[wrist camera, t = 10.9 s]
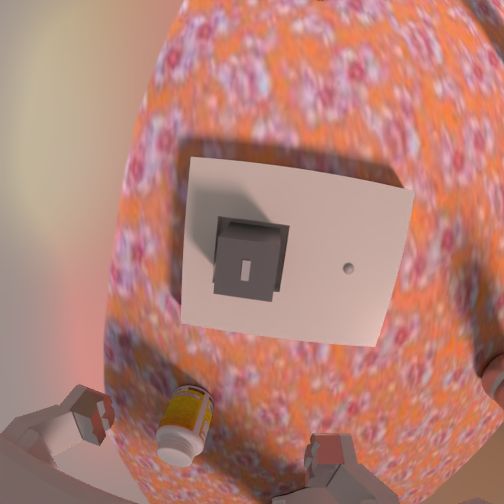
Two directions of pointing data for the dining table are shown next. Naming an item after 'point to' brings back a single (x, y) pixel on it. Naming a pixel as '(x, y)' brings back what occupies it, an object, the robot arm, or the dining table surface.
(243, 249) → the block
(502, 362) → the plastic bottle
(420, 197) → the dining table surface
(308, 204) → the outlet plate
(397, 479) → the dining table surface
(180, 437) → the supplement bottle
